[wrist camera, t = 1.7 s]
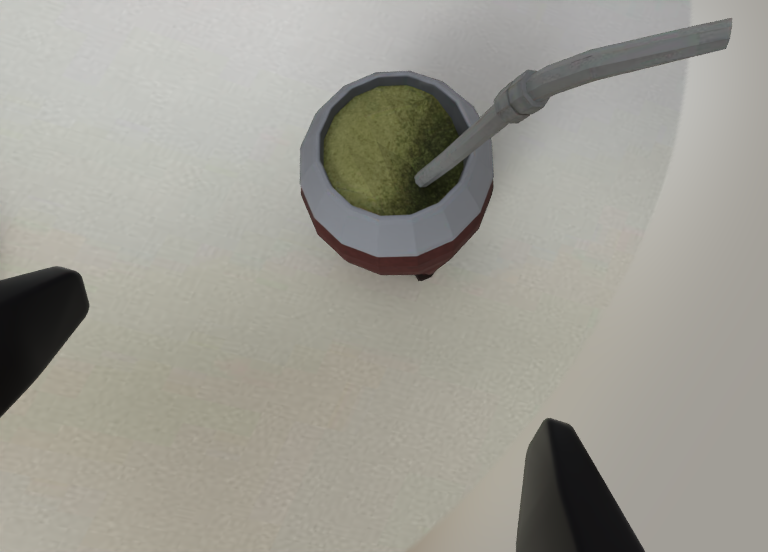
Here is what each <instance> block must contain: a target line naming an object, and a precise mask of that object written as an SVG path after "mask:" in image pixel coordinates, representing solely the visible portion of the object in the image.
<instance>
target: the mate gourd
mask: <svg viewBox="0 0 768 552" xmlns="http://www.w3.org/2000/svg"><path fill="white" fill-rule="evenodd" d="M731 29H732V18H729V19H724V20H720V21H715V22H710V23H706V24H701V25H696V26H692V27H688V28H683V29H679V30H674V31H670V32H666V33H661V34H657V35H653V36H648V37H644V38H639V39H635V40H631V41H626V42H622V43H618V44H613V45H609V46H604V47H600V48H596V49H592V50H589V51H586V52H583V53H581V54H578V55H575V56H573V57H570V58H567V59H564V60H562V61H559V62H556V63H553V64H551V65H548V66H546V67H544V68H542V69H541V70H539V71H534V70H527V71H525V72H524V73H523V74H521V75H520V76H518V77H517V78H516V79H515V80H514V81H512V82H511V83H509V84H508V85H507V86H506V87H505V88H503V89H502V90H501V91H500V92H499V94H498V95H497V97H496V98H495V99H494V103H495V104H494V105H493V106H492V107H491V108H490V109H489V110H487V111H486V112H485V113H484V114H483V115H482V116H481V117H479V115H478V113H477V112H476V110H475V108H474V106H472V105H471V104H470V103H469V102H467V101H466V100H465V99H464V98H463V97H461V96H460V95H459V94H458V93H457V92H455V91H454V90H453V89H452V88H450V87H449V86H448V85H447V84H445V83H444V82H442V81H439V80H436V79H433V78H430V77H427V76H424V75H421V74H418V73H415V72H412V71H399V72H376V73H373V74H371V75H369V76H366V77H364V78H361V79H359V80H357V81H354V82H352V83H350V84H347V85H345V86H343V87H342V88H341V89H340V90H339V91H338V92H337V93H336V94H335V95H334V96H333V97H332V98H331V99H330V100H329V101H328V102H327V103H326V104H325V105H323V106H322V107H321V108H320V109H319V110H318V112H317V113H316V114H315V116H314V118H313V121H312V123H311V125H310V127H309V129H308V132H307V134H306V136H305V138H304V140H303V143H302V145H301V148H300V185H301V195H302V198H303V201H304V203H305V205H306V208H307V210H308V213H309V215H310V217H311V220H312V222H313V224H314V227H315V229H316V231H317V234H318V235H319V236H320V237H321V238H322V239H323V240H324V241H325V242H326V243H327V244H329V245H330V246H331V247H332V248H333V249H334V250H335V251H336V252H337V253H338V254H339V255H340V256H341V257H342V258H343V259H345V260H346V261H347V262H349V263H352V264H354V265H357V266H359V267H362V268H364V269H367V270H369V271H372V272H375V273H377V274H380V275H415V276H416V277H417V279H418V281H423V280H425V279H427V278H430V277H431V276H432V275H433V273H434V272H435V271H436V270H437V269H438V268H439V267H441V266H442V265H443V264H445V263H446V262H447V261H449V260H450V259H451V258H452V257H453V256H454V255H455V254H456V253H457V252H458V251H459V250H460V248H461V247H462V246H463V245H464V244H465V243H466V242H467V241H468V240H469V239H470V238H471V237H472V236H473V234H474V233H475V232H476V231H477V230H478V229H479V227H480V224H481V221H482V219H483V216H484V214H485V211H486V208H487V206H488V203H489V201H490V198H491V195H492V191H493V177H494V173H493V157H492V141H491V137H492V136H494V135H495V134H496V133H498V132H499V131H500V130H501V129H503V128H504V127H505V126H506V125H508V124H509V123H519V122H520V121H522V120H524V119H525V118H527V117H528V116H530V114H533V113H535V112H537V111H538V110H540V109H542V108H543V107H544V106H545V104H546V103H547V101H548V100H549V98H550V97H551V96H553V95H555V94H557V93H560V92H563V91H566V90H569V89H572V88H575V87H578V86H581V85H584V84H587V83H590V82H593V81H596V80H600V79H604V78H608V77H612V76H616V75H620V74H624V73H629V72H633V71H637V70H641V69H645V68H649V67H653V66H657V65H661V64H665V63H669V62H673V61H678V60H682V59H686V58H690V57H694V56H698V55H702V54H706V53H710V52H714V51H719V50H723V49H726V47H727V45H728V42H729V39H730V34H731Z"/></svg>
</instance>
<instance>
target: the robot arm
mask: <svg viewBox="0 0 768 552" xmlns="http://www.w3.org/2000/svg"><path fill="white" fill-rule="evenodd" d="M88 310H89V301H88V298H87V294H86V290H85V286H84V283H83V279H82V276H81V275H80V274H79V273H78V272H76V271H73V270H70V269H67V268H64V267H58V266H56V267H50V268H47V269H43V270H39V271H35V272H31V273H27V274H23V275H19V276H16V277H12V278H8V279H4V280H0V417H1V416H2V415H3V414H4V413H5V412H6V411H7V410H8V409H9V408H10V407H11V406H12V405H13V404H14V403H15V402H16V400H17V399H18V398H19V397H20V396H21V395H22V394H23V393H24V392H25V391H26V390H27V389H28V388H29V387H30V386H31V384H32V383H33V382H34V381H35V380H36V379H37V378H38V376H39V375H40V374H41V373H42V372H43V370H44V369H45V368H46V367H47V365H48V364H49V363H50V361H51V360H52V359H53V358H54V356H55V355H56V354H57V352H58V351H59V350H60V349H61V347H62V346H63V345H64V344H65V342H66V341H67V340H68V338H69V337H70V336H71V335H72V333H73V332H74V331H75V329H76V328H77V327H78V326H79V324H80V323H81V322H82V321H83V319H84V318H85V317H86V315H87V313H88ZM516 552H645V551H644V549H643V547H642V545H641V544H640V542H639V540H638V539H637V537H636V535H635V533H634V532H633V530H632V528H631V527H630V525H629V523H628V521H627V520H626V518H625V516H624V514H623V513H622V511H621V509H620V508H619V506H618V504H617V502H616V501H615V499H614V498H613V496H612V494H611V492H610V491H609V489H608V487H607V485H606V484H605V482H604V480H603V478H602V477H601V475H600V473H599V472H598V470H597V468H596V466H595V465H594V463H593V461H592V460H591V458H590V456H589V454H588V453H587V451H586V449H585V448H584V446H583V444H582V442H581V441H580V439H579V437H578V436H577V434H576V432H575V430H574V429H573V427H572V426H571V425H569V424H567V423H564V422H561V421H558V420H554V419H551V418H547V419H545V420H544V421H543V422H542V424H541V426H540V428H539V429H538V431H537V432H536V434H535V436H534V438H533V440H532V441H531V443H530V444H529V447H528V450H527V453H526V460H525V469H524V477H523V486H522V494H521V503H520V512H519V521H518V530H517V541H516Z"/></svg>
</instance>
